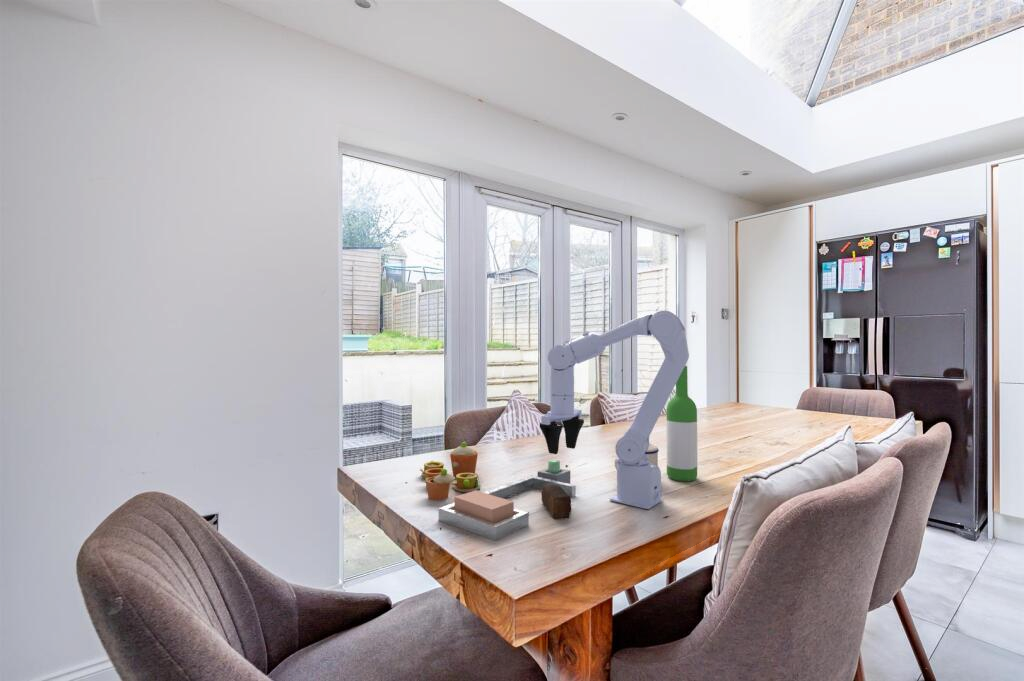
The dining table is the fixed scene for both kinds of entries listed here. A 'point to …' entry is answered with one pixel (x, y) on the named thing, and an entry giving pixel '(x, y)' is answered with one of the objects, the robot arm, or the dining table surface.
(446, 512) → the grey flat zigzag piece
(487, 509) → the twin block
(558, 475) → the console
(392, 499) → the dining table surface
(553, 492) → the brick
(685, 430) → the wine bottle
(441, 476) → the toy tea set
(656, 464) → the teacup with lid
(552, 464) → the button
